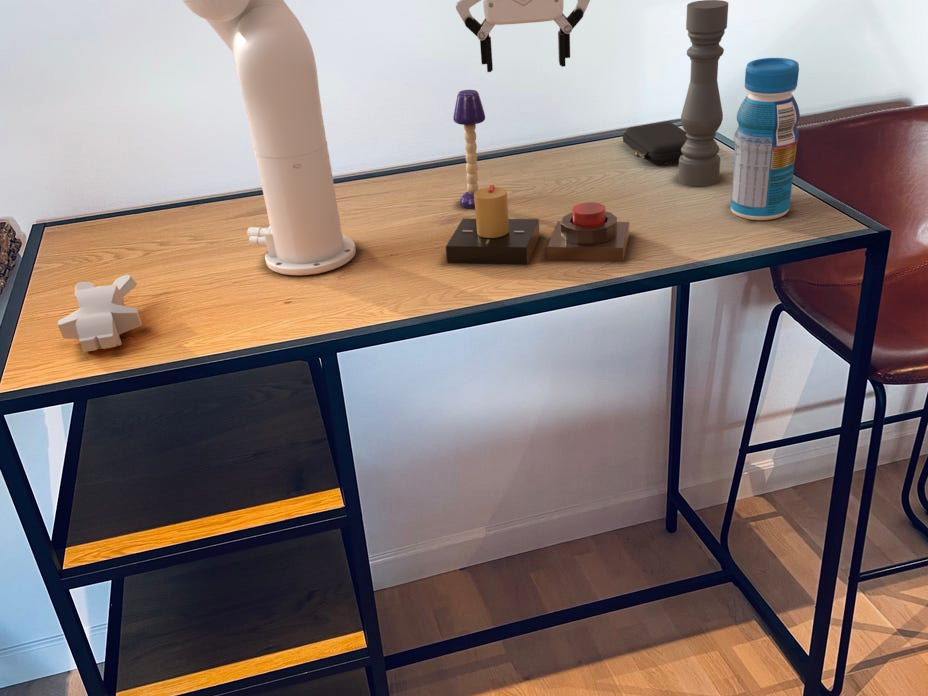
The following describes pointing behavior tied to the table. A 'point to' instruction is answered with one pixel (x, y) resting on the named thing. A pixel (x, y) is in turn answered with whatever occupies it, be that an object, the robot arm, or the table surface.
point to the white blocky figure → (101, 315)
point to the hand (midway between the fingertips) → (526, 66)
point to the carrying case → (656, 142)
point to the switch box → (589, 241)
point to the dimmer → (493, 244)
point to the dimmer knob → (491, 212)
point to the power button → (588, 214)
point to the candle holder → (703, 93)
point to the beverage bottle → (766, 140)
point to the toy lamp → (469, 138)
